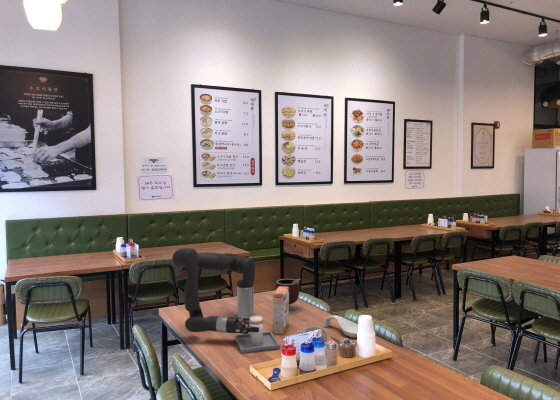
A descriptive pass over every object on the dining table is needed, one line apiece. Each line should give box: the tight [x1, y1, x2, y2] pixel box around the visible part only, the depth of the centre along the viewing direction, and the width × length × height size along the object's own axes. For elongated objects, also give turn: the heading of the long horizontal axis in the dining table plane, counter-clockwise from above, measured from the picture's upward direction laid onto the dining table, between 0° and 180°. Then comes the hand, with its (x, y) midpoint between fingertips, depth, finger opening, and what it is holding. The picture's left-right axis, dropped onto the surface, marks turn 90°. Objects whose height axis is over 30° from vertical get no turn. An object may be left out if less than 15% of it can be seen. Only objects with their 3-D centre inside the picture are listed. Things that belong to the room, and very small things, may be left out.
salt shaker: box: [250, 315, 264, 345], centre depth 208 cm, size 6×6×12 cm
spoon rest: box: [323, 315, 359, 339], centre depth 223 cm, size 24×12×7 cm, turn 45°
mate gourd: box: [274, 278, 301, 315], centre depth 256 cm, size 16×14×20 cm
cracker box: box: [272, 286, 290, 335], centre depth 226 cm, size 14×6×21 cm, turn 168°
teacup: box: [296, 325, 328, 343], centre depth 205 cm, size 14×11×8 cm
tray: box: [234, 330, 281, 355], centre depth 208 cm, size 18×18×2 cm
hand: (260, 326), depth 207 cm, fingers open, 8 cm apart
